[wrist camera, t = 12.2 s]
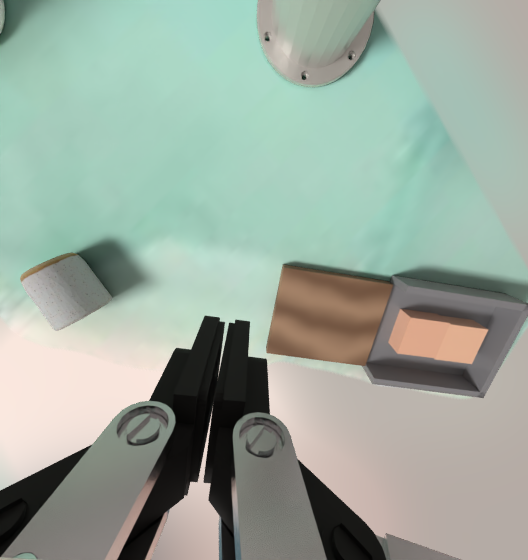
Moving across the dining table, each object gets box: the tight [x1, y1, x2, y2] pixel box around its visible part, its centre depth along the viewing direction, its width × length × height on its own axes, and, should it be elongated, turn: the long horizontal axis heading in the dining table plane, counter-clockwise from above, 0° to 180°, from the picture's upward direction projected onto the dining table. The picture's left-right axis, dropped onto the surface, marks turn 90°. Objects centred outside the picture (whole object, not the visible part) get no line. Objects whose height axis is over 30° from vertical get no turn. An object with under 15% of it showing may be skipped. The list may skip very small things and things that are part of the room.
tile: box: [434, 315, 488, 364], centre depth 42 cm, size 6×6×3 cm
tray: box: [362, 275, 528, 398], centre depth 41 cm, size 16×18×4 cm
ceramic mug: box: [20, 253, 112, 331], centre depth 36 cm, size 11×8×8 cm
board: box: [266, 265, 393, 366], centre depth 41 cm, size 14×16×2 cm
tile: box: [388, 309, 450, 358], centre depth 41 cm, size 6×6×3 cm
